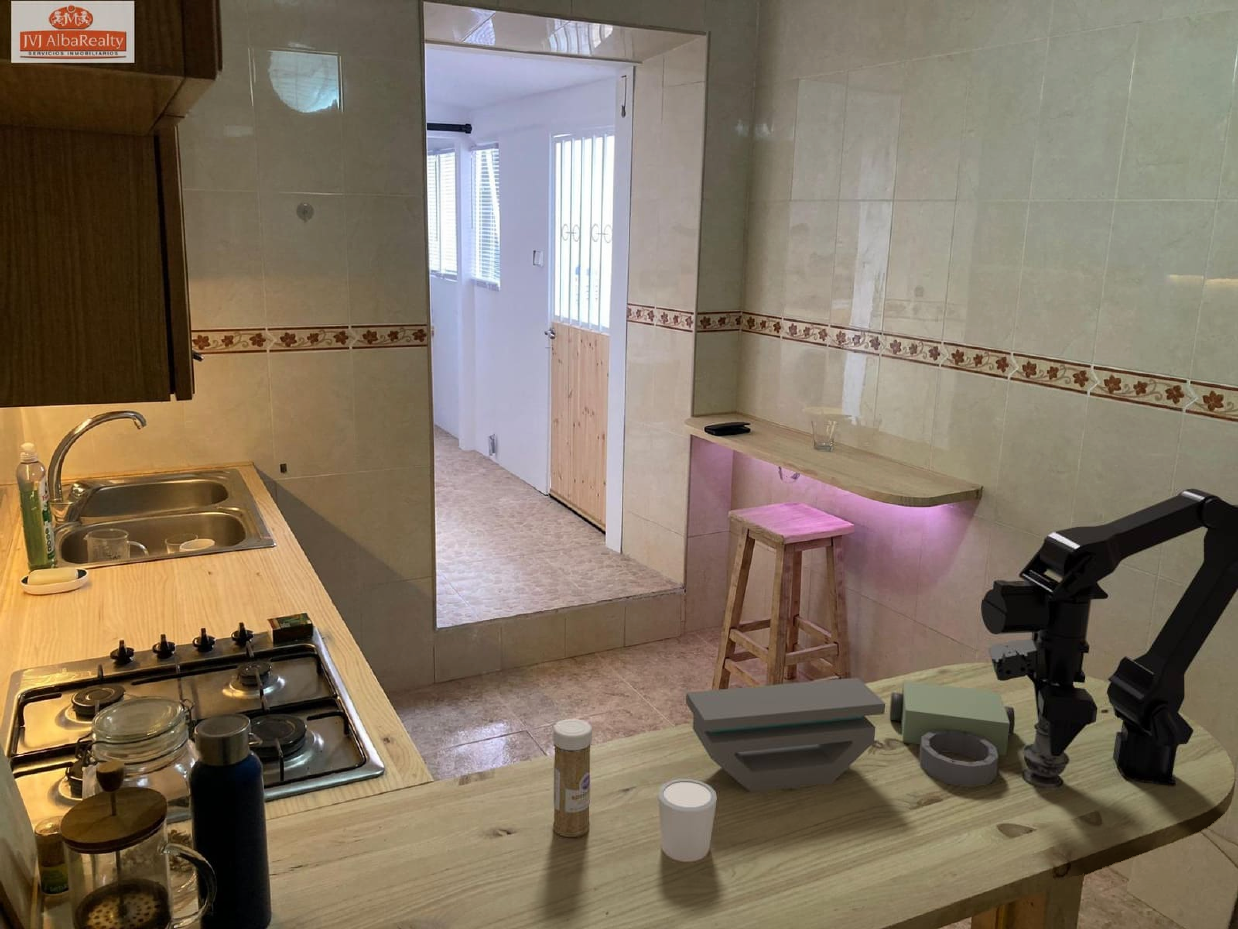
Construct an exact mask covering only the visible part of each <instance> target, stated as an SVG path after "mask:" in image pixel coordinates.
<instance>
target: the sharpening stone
mask: <svg viewBox="0 0 1238 929" xmlns="http://www.w3.org/2000/svg"><path fill="white" fill-rule="evenodd" d="M685 704H686V705H687V707H688V709H689V710H690V711H691V714H692V715H693V719H692V730H693V732H694V733H695V735H696V736H697V739H698V740H699V741H700V743H701V745H702V746H703V747H704V749H705V751H706V753H707V754H708V756H709V757H710V759H711V760H712V761H713V762H714V763H716V764H717V765H718V766H719V767H720V768H722V769H723V770H724V771H725V772H726V773H728V774H729V775H730V776H731V777H732V778H733V779H735V780H736V781H737V782H738V783H739V784H740V785H742V786H743V787H744V788H745V789H747V791H749V792H750V793H753V792H762V791H773V790H780V789H789V788H797V787H798V788H799V787H807V786H816V785H825V784H826V785H827V784H833V783H834V782H835V781H836V779H838V778H839V777H840V776H841V775H842V774H843V773H844V772H845V771H846V770H847V769H848V768H849V767H850V766H851V765H852V764H853V763H854V762H855V761H856V760H858V758H859V757H861V755H863V754H864V753H865V752H866V750H867V749H869V748H870V747H871V746H872V745H873V744H874V743H875V737H876V726H875V725H874V724H873V723H872V722H871V721H870V720H869V719H868V718H867V717H869V716H879V715H880V716H882V715H885V712H886V711H885V709H886V703H885V702H884V700H882V699H881V698H880V697H879V696H878V695H877V694H876V693H875V692H874V691H873V690H872V689H871V688H870V687H868V686H867V685H866V684H865V683H864V682H863V681H862V680H861V679H860V678H859V677H851V678H840V679H828V680H817V681H805V682H804V681H803V682H793V683H783V684H782V683H781V684H780V683H779V684H770V685H759V686H749V687H748V686H747V687H734V688H724V689H723V688H722V689H712V690H710V689H709V690H700V691H688V692H686V700H685Z"/></svg>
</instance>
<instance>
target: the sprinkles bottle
mask: <svg viewBox="0 0 1238 929" xmlns="http://www.w3.org/2000/svg"><path fill="white" fill-rule="evenodd" d="M552 733H553V734H552V737H553V739H552V742H553V746H554V759H553V760H554V761H553V762H554V763H553V806H554V807H553V810H554V815H553V823H552V825H553V826H552V827H553V830H554V832H555V833H557V834H558V835H560V836H562V837H566V838H575V837H580V836H582V835H584V834H586V833H587V832H589V830H590V825H591V822H590V804H591V773H590V771H591V770H590V769H591V744H592V739H593V728H592V726H591V724H589V722H587V721H585V720H582V719H577V718H567V719H563V720H560V721H558V722H556V723H555V724H554V726H553V732H552Z"/></svg>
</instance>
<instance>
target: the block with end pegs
mask: <svg viewBox="0 0 1238 929" xmlns="http://www.w3.org/2000/svg"><path fill="white" fill-rule="evenodd" d="M901 686H902V687H901V693H899V692H898V693H897V692H891V695H890V702H889V703H890V704H889V705H890V706H889V720H891V721H892V720H893V721H899V722H900V724H901V726H900V727H901V738H902V739H903V740H902V742H903V743H909V744H916V745H919V755H918V757H919V765H920V766H919V767H921V769H923V770H924V771H925V772H926V773H927V774H928V775H929V776H931V777H933V778H935V779H937V780H939V781H942V782H943V783H944V782H945V783H947V784H949V785H955V786H961V787H969V788H973V787H979V786H985V785H989V784H990V783H991V782H992V781H993V780H994V779H995V778H997V770H998V763H999V756H1003V757H1005V756H1007V748H1008V740H1009V736H1013V734H1014V731H1015V722H1016V721H1015V719H1016V717H1015V715H1016V714H1015V709H1014V707H1012V706H1005V704H1004V700H1003V697H1002V694H1001V692H1000V691H991V690H984V689H975V688H967V687H959V686H951V685H943V684H934V683H926V682H918V681H911V680H902V684H901ZM945 752H947V753H948V752H949V753H955V754H962V755H965V756H967V757H970V758H973V759H975V760H976V761H972V762H971V761H963V760H955V759H952V758H950V757H947V756H944V755H942V754H940V753H945Z"/></svg>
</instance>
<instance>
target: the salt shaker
mask: <svg viewBox="0 0 1238 929" xmlns="http://www.w3.org/2000/svg"><path fill="white" fill-rule="evenodd" d="M1033 726H1034V727H1033V728H1034V729H1035V738H1034V740H1033V743H1030V744H1029V743H1028V744H1026V745H1024V746H1022V749H1021V754H1022V755H1023V760H1024V762H1025V765H1026V768H1024V769H1023V770H1021V773H1020V775H1021V777H1022V779H1023V781H1025V782H1026V783H1028V784H1029V785H1031V786H1034V787H1036V788H1039V789H1042V790H1059V789H1061V788H1063V787H1064V784H1065V782H1064V779H1063V777H1061V776H1060V775H1061V774H1062V773H1064V771H1065V769H1066V768H1067V765H1069V764H1070V757H1069V756H1068V754H1066V752H1065V751H1064V752H1063V753H1062V754H1061V756H1059V757H1058V756H1052V755H1051V753H1050V742H1049V726H1048V721H1047V720H1046V719H1044V718H1043V717H1042V716H1041V714H1040V712H1039V719H1038V718H1037V723H1035V724H1034V725H1033Z"/></svg>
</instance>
